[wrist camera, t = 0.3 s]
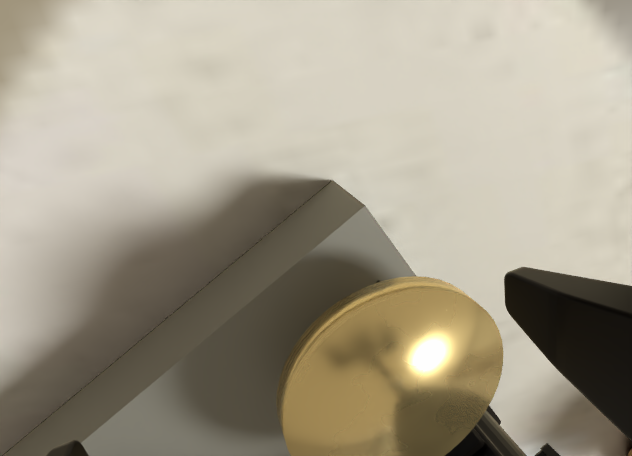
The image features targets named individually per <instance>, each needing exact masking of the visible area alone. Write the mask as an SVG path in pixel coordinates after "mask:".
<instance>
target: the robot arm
mask: <svg viewBox="0 0 632 456" xmlns="http://www.w3.org/2000/svg"><path fill="white" fill-rule="evenodd" d="M504 285H505V305H506V308H507V311H508V312H509V314H510V315H511V317H512V318H513V319H514V320H515V321H516V322H517V324H518V325H519V326H520V327H521V328H522V329H523V331H524V332H525V333H526V334H527V335H528V336H529V338H530V339H531V340H532V341H533V342H534V344H535V345H536V346H537V347H538V348H539V349H540V351H541V352H542V353H543V354H544V355H545V356H546V358H547V359H548V360H549V361H550V362H551V363H552V364H553V365H554V366H555V367H556V369H557V370H558V371H559V372H560V373H561V374H562V375H563V376H564V377H565V378H566V379H568V380H569V381H570V382H571V383H572V384H573V385H574V386H575V387H576V388H577V389H578V390H579V391H580V392H581V393H582V394H583V395H584V396H585V397H586V398H587V399H588V400H589V401H590V402H591V403H592V404H594V405H595V406H596V407H597V408H598V409H599V410H600V411H601V412H602V413H603V414H604V415H605V416H606V417H607V418H608V419H609V420H610V421H611V422H612V423H613V424H614V425H615V426H616V427H617V428H618V429H620V430H621V431H622V432H623V433H624V434H625V435H626V436H627V437H628V438H629V439H630V440H631V441H632V286H628V285H623V284H617V283H611V282H606V281H600V280H595V279H589V278H583V277H578V276H572V275H566V274H561V273H555V272H550V271H544V270H538V269H533V268H527V267H521V268H518V269H515V270H513V271H510V272H508V273H507V274H506V275H505V278H504ZM500 423H501V421H500V419H499V418H498V417H497V415H496V414H495V413H494V411H493V410H492V409H491V408H490V406H488V408H487V410H486V411H485V413H484V414H483V416H482V417H481V419H480V420H479V421H478V423H477V424H476V425H475V427H474V428H473V429H472V430H471V431H470V433H469V434H468V435H467V436H466V437H465V438H464V439H463V440H462V441H461V442H460V443H459V444H458V445H457V446H456V447H454V448H453V449H452V450H451V451H450V452H449V453H447V454H446V455H445V456H527V455H526V454H525V453H524V452H523V451H522V450H521V449H520V448H519V447H518V445H517V444H516V443H515V442H514V441H513V440H512V439H511V438H510V436H509V435H508V434H507V433H506V432H505V431H504V430H503V429H502V427H501V426H500ZM540 449H541V451H540V452H538V453H537V454H536V455H535V456H560V455H559V454H558V453H557V452H556V451H555V450H554V449H553V448H552V447H551V446H550V445H549V444H547V443H546V444H545V445H544V446H543V447H542V448H540ZM46 456H89V455H88V453H87V452H86V450H85V449H84V447H83V445H82V444H81V443H80V442H79V441H78V440H72V441H69V442H66V443H64V444H61V445H59V446H56V447H54V448H52V449H51V450H50V451H49V452H48V453H47V455H46Z"/></svg>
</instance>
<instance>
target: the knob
mask: <svg viewBox="0 0 632 456" xmlns="http://www.w3.org/2000/svg"><path fill="white" fill-rule="evenodd" d="M502 365H503V346H502V339H501V336H500V333H499V330H498V328H497V326H496V324H495V322H494V320H493V319H492V317H491V316H490V315H489V314H488V312H487V311H486V310H484V309H483V308H482V307H481V306H480V305H479V304H477V303H476V302H475V301H474V300H473V299H471V298H470V297H469V296H468V295H466V294H465V293H464V292H463V291H462V290H460V289H458V288H457V287H455V286H453V285H452V284H450V283H447V282H444V281H442V280H439V279H434V278H429V277H416V276H411V277H399V278H394V279H389V280H384V281H381V282H378V283H375V284H372V285H369V286H367V287H364V288H362V289H360V290H358V291H356V292H354V293H352V294H350V295H348V296H347V297H345V298H343V299H342V300H340V301H338V302H337V303H336V304H334V305H333V306H332V307H330V308H329V309H328V310H326V311H325V312H324V313H323V314H322V315H321V316H320V317H319V318H318V319H317V320H315V321H314V322H313V323H312V324H311V326H310V327H309V328H308V329H307V330H306V331H305V332H304V334H303V335H302V336H301V337H300V339H299V340H298V342H297V343H296V345H295V346H294V348H293V349H292V351H291V353H290V355H289V357H288V358H287V360H286V362H285V365H284V367H283V370H282V373H281V376H280V379H279V384H278V388H277V399H276V405H277V415H278V419H279V422H280V426H281V429H282V432H283V435H284V439H285V442H286V445H287V448H288V451H289V453H290V455H291V456H445V455H446V454H447V453H449V452H450V451H451V450H452V449H453V448H454V447H456V446H457V445H458V444H459V443H460V442H461V441H462V440H463V439H464V438H465V437H466V436H467V435H468V434H469V433H470V431H471V430H472V429H473V428H474V427H475V425H476V424H477V423H478V421H479V420H480V419H481V417H482V416H483V414H484V413H485V411H486V410H487V408H488V406H489V404H490V402H491V400H492V398H493V396H494V394H495V391H496V389H497V386H498V383H499V380H500V376H501V372H502Z"/></svg>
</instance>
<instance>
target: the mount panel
mask: <svg viewBox="0 0 632 456" xmlns="http://www.w3.org/2000/svg"><path fill="white" fill-rule="evenodd" d="M411 276H416V275H415V274H414V272H413V271H412V270H411V268H410V267H409V265H408V264H407V263H406V261H405V260H404V259H403V257H402V256H401V254H400V253H399V252H398V250H397V249H396V248H395V246H394V245H393V243H392V242H391V241H390V239H389V238H388V237H387V235H386V234H385V232H384V231H383V230H382V228H381V227H380V225H379V224H378V223H377V221H376V220H375V219H374V217H373V216H372V214H371V213H370V212H369V210H368V209H367V208H366V206H365V205H364V204H362V203H361V202H360V201H359V200H357V199H356V198H355V197H353V196H352V195H351V194H350V193H348V192H347V191H346V190H344V189H343V188H342V187H341V186H339V185H338V184H337V183H336V182H334V181H333V180H332V181H331V182H330V183H329V184H328V185H326V186H325V187H324V188H323V189H322V190H320V191H319V192H318V193H317V194H316V195H314V196H313V197H312V198H311V199H310V200H308V201H307V202H306V203H305V204H304V205H302V206H301V207H300V208H299V209H298V210H296V211H295V212H294V213H293V214H292V215H290V216H289V217H288V218H287V219H286V220H284V221H283V222H282V223H281V224H280V225H278V226H277V227H276V228H275V229H274V230H272V231H271V232H270V233H269V234H268V235H266V236H265V237H264V238H263V239H262V240H260V241H259V242H258V243H257V244H256V245H254V246H253V247H252V248H251V249H250V250H248V251H247V252H246V253H245V254H244V255H242V256H241V257H240V258H239V259H238V260H236V261H235V262H234V263H233V264H232V265H230V266H229V267H228V268H227V269H226V270H225V271H223V272H222V273H221V274H220V275H219V276H217V277H216V278H215V279H214V280H213V281H211V282H210V283H209V284H208V285H207V286H205V287H204V288H203V289H202V290H201V291H199V292H198V293H197V294H196V295H195V296H193V297H192V298H191V299H190V300H189V301H187V302H186V303H185V304H184V305H183V306H181V307H180V308H179V309H178V310H177V311H175V312H174V313H173V314H172V315H171V316H169V317H168V318H167V319H166V320H165V321H163V322H162V323H161V324H160V325H159V326H157V327H156V328H155V329H154V330H153V331H151V332H150V333H149V334H148V335H147V336H145V337H144V338H143V339H142V340H141V341H139V342H138V343H137V344H136V345H135V346H133V347H132V348H131V349H130V350H129V351H127V352H126V353H125V354H124V355H123V356H121V357H120V358H119V359H118V360H117V361H115V362H114V363H113V364H112V365H111V366H109V367H108V368H107V369H106V370H105V371H103V372H102V373H101V374H100V375H99V376H97V377H96V378H95V379H94V380H93V381H91V382H90V383H89V384H88V385H87V386H85V387H84V388H83V389H82V390H81V391H79V392H78V393H77V394H76V395H75V396H73V397H72V398H71V399H70V400H69V401H67V402H66V403H65V404H64V405H63V406H61V407H60V408H59V409H58V410H57V411H55V412H54V413H53V414H52V415H51V416H49V417H48V418H47V419H46V420H45V421H43V422H42V423H41V424H40V425H39V426H37V427H36V428H35V429H34V430H33V431H31V432H30V433H29V434H28V435H27V436H25V437H24V438H23V439H22V440H21V441H19V442H18V443H17V444H16V445H15V446H13V447H12V448H11V449H10V450H9V451H7V452H6V453H5V454H4V455H3V456H46V455H47V453H48V452H49V451H50V450H51V449H52V448H54V447H56V446H59V445H61V444H64V443H66V442H69V441H72V440H78V441H79V442H80V443H81V444H82V445H83V447H84V449H85V450H86V452H87V453H88V455H89V456H291V455H290V453H289V451H288V448H287V445H286V442H285V439H284V435H283V432H282V429H281V426H280V422H279V419H278V415H277V405H276V399H277V388H278V384H279V379H280V376H281V373H282V370H283V367H284V365H285V362H286V360H287V358H288V357H289V355H290V353H291V351H292V349H293V348H294V346H295V345H296V343H297V342H298V340H299V339H300V337H301V336H302V335H303V334H304V332H305V331H306V330H307V329H308V328H309V327H310V326H311V324H312V323H313V322H314V321H315V320H317V319H318V318H319V317H320V316H321V315H322V314H323V313H324V312H325V311H326V310H328V309H329V308H330V307H332V306H333V305H334V304H336V303H337V302H338V301H340V300H342V299H343V298H345V297H347V296H348V295H350V294H352V293H354V292H356V291H358V290H360V289H362V288H364V287H367V286H369V285H372V284H374V283H378V282H381V281H384V280H389V279H394V278H399V277H411Z"/></svg>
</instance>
